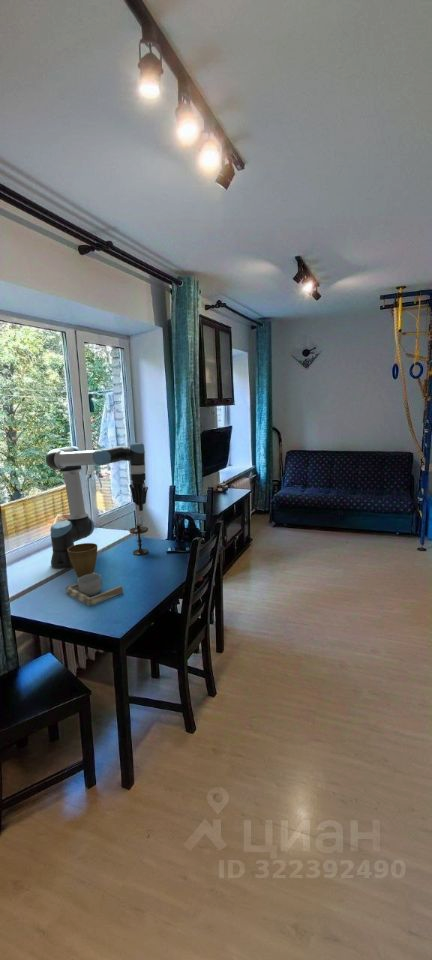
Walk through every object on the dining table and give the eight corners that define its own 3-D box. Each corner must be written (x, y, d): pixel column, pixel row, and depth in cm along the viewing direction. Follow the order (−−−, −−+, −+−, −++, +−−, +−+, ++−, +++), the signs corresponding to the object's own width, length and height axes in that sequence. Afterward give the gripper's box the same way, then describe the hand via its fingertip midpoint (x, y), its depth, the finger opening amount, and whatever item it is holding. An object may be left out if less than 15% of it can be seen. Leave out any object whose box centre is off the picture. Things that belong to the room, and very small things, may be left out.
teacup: (95, 599, 207) (93, 582, 205) (74, 597, 209) (72, 581, 208) (109, 586, 220) (108, 571, 218) (89, 585, 222) (87, 570, 221)
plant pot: (106, 575, 234) (103, 546, 231) (80, 584, 224) (77, 554, 221) (90, 569, 244) (87, 540, 241) (65, 577, 234) (61, 548, 231)
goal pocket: (66, 593, 214) (65, 587, 214) (98, 581, 226) (98, 576, 226) (90, 605, 200) (89, 599, 199) (122, 592, 212) (122, 586, 212)
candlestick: (148, 555, 261) (143, 496, 255) (129, 556, 261) (124, 497, 255) (151, 549, 272) (146, 492, 265) (133, 550, 272) (128, 493, 265)
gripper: (151, 473, 233) (153, 517, 238) (136, 470, 242) (137, 513, 246) (140, 475, 228) (141, 520, 232) (124, 472, 237) (126, 515, 241)
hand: (139, 516), depth 239 cm, fingers closed
